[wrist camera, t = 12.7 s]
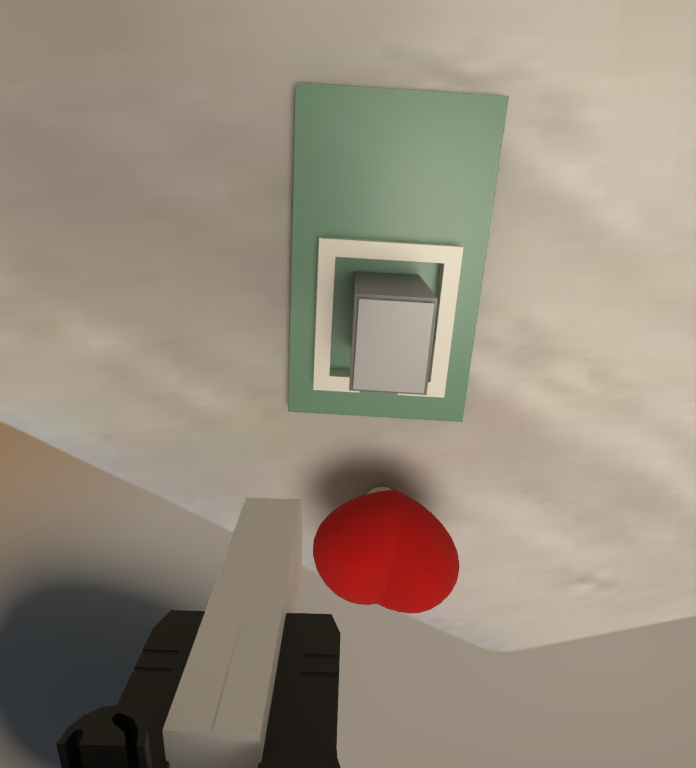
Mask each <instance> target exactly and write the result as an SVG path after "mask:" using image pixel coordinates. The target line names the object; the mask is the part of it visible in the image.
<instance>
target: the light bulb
mask: <svg viewBox="0 0 696 768" xmlns="http://www.w3.org/2000/svg"><path fill="white" fill-rule="evenodd" d="M313 556H314V560H315V564H316V568H317V570H318V572H319V574H320V576H321V578H322V579H323V581H324V582H325V584H326V585H327V586H328V587H329V588H330V589H331V590H332V591H333V592H334V593H335V594H336V595H338V596H339V597H341V598H343V599H345V600H347V601H349V602H352V603H356V604H364V605H370V604H379V605H381V606H383V607H385V608H387V609H391V610H394V611H398V612H404V613H420V612H424V611H427V610H430V609H432V608H433V607H435V606H437V605H439V604H440V603H441V602H442V601H443V600H444V599H445V598H446V597H447V596H448V595H449V594H450V593H451V591H452V589H453V588H454V586H455V584H456V582H457V578H458V572H459V560H458V554H457V550H456V547H455V545H454V543H453V540H452V538H451V536H450V535H449V533H448V532H447V530H446V529H445V528H444V526H443V525H442V524H441V522H440V521H439V520H438V519H437V518H436V517H435V516H434V515H433V514H432V513H431V512H430V511H428V510H427V509H426V508H425V507H423V506H422V505H421V504H419V503H418V502H416V501H415V500H413V499H411V498H410V497H408V496H407V495H405V494H402V493H400V492H398V491H396V490H391V489H390V488H387V487H377V488H374V489H372V490H370V491H369V492H368V493H367V494H366V495H363V496H360V497H357V498H355V499H353V500H350V501H348V502H346V503H345V504H343V505H341V506H339V507H338V508H337V509H335V510H334V511H333V512H332V513H330V514H329V515H328V516H327V517H326V518H325V520H324V521H323V522H322V523H321V525H320V526H319V528H318V531H317V533H316V535H315V538H314V545H313Z"/></svg>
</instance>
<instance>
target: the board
mask: <svg viewBox="0 0 696 768" xmlns="http://www.w3.org/2000/svg"><path fill="white" fill-rule="evenodd" d="M508 98H509V96H500V95H485V94H469V93H453V92H437V91H422V90H406V89H390V88H375V87H359V86H343V85H327V84H312V83H296V89H295V134H294V179H293V223H292V268H291V313H290V358H289V402H288V411H289V412H306V413H323V414H340V415H357V416H374V417H390V418H407V419H424V420H441V421H458V422H462V420H463V413H464V406H465V399H466V392H467V385H468V378H469V371H470V364H471V357H472V350H473V343H474V336H475V329H476V322H477V315H478V308H479V301H480V294H481V287H482V280H483V273H484V266H485V259H486V252H487V245H488V238H489V231H490V224H491V217H492V210H493V203H494V196H495V189H496V182H497V175H498V168H499V161H500V154H501V147H502V140H503V133H504V126H505V119H506V112H507V105H508ZM355 271H362V272H379V273H395V274H411V275H420V277H421V278H422V279H423V280H424V282H425V283H426V284H427V285H428V287H429V288H430V289H431V291H432V292H433V293H434V294H435V296H436V297H437V298H438V301H437V310H436V319H435V327H434V336H433V344H432V353H431V362H430V370H429V379H428V388H427V395H416V394H399V393H383V392H366V391H349V376H350V348H351V332H352V316H353V300H354V283H355Z"/></svg>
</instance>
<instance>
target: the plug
mask: <svg viewBox="0 0 696 768" xmlns="http://www.w3.org/2000/svg"><path fill="white" fill-rule="evenodd" d="M437 301H438V298H437V297H436V296H435V294H434V293H433V292H432V291H431V289H430V288H429V287H428V285H427V284H426V283H425V282H424V280H423V279H422V278H421V277H420V275H411V274H395V273H379V272H362V271H355V283H354V300H353V316H352V332H351V348H350V376H349V391H366V392H383V393H399V394H416V395H427V388H428V379H429V370H430V362H431V353H432V344H433V336H434V327H435V319H436V310H437Z"/></svg>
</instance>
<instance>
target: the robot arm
mask: <svg viewBox="0 0 696 768" xmlns="http://www.w3.org/2000/svg"><path fill="white" fill-rule="evenodd" d="M301 583H302V500H299V499H270V498H246V500H245V502H244V505H243V508H242V511H241V513H240V516H239V519H238V522H237V525H236V527H235V530H234V533H233V536H232V538H231V541H230V544H229V547H228V550H227V552H226V555H225V558H224V561H223V563H222V566H221V569H220V572H219V575H218V577H217V580H216V583H215V586H214V588H213V591H212V594H211V597H210V600H209V602H208V605H207V608H206V611H178V610H177V611H176V610H171V611H170V612H169V613H168V614H167V615H166V616H165V617H164V618H163V619H162V620H161V621H160V622H159V623H158V624H157V625H156V626H155V627H154V628H153V629H152V631H151V633H150V635H149V638H148V640H147V642H146V644H145V647H144V648H143V653H142V654H141V655H140V657H139V659H138V661H137V663H136V666H135V670H134V672H132V674H131V676H130V678H129V681H128V683H127V685H126V687H125V689H124V691H123V693H122V696H121V698H120V700H119V702H118V704H117V705H115V706H107V707H101V708H99V709H97V710H94V711H92V712H90V713H88V714H85V715H84V716H82V717H81V718H80V719H79V720H77V721H76V722H75V723H74V724H72V725H71V726H70V727H69V728H68V729H67V730H66V731H65V733H64V734H63V735H62V737H61V738H60V740H59V741H58V742H57V743H56V744H57V749H58V753H59V758H60V762H61V767H62V768H340V765H339V762H338V759H337V749H336V743H337V715H338V713H337V712H338V688H339V687H338V685H339V658H340V632H339V629H338V628H337V625H336V623H335V621H334V619H333V617H332V615H331V614H306V613H297V611H298V603H299V597H300V590H301Z"/></svg>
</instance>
